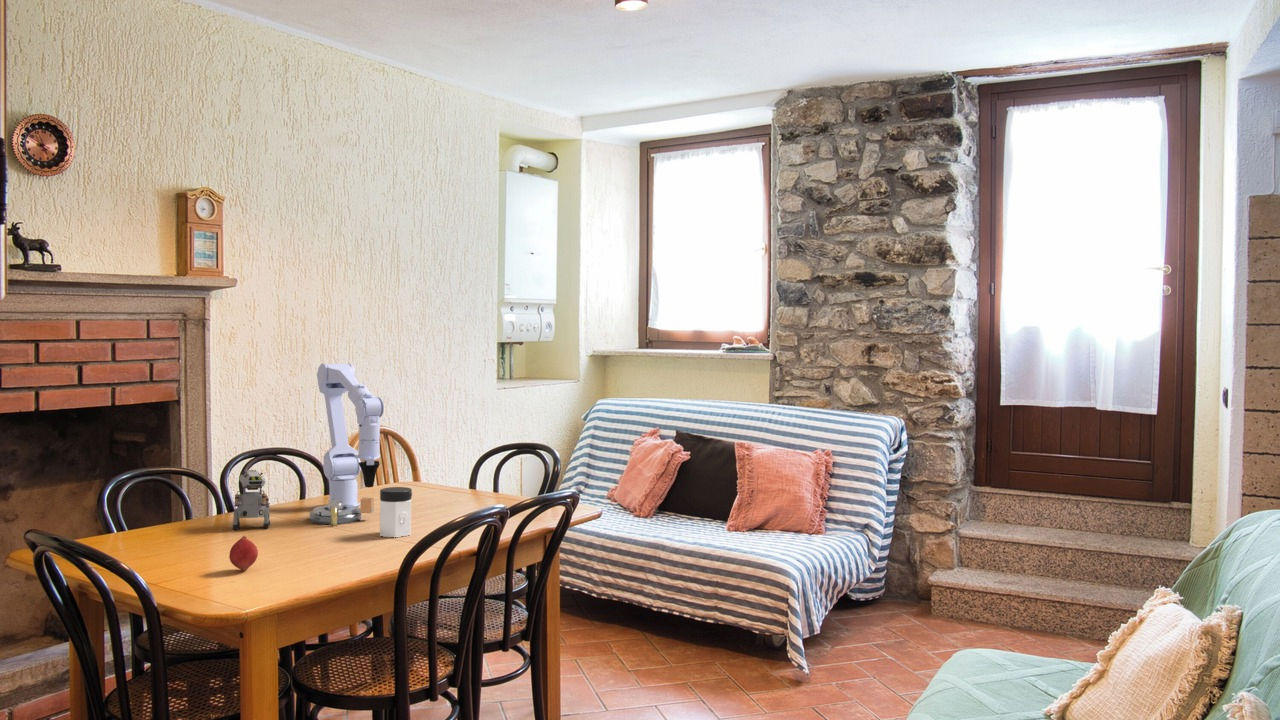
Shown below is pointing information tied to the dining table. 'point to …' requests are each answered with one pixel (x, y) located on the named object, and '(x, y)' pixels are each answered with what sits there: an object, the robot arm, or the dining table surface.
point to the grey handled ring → (348, 508)
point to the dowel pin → (333, 516)
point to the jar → (395, 511)
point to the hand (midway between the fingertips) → (369, 486)
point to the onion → (243, 554)
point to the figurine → (251, 499)
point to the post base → (340, 519)
